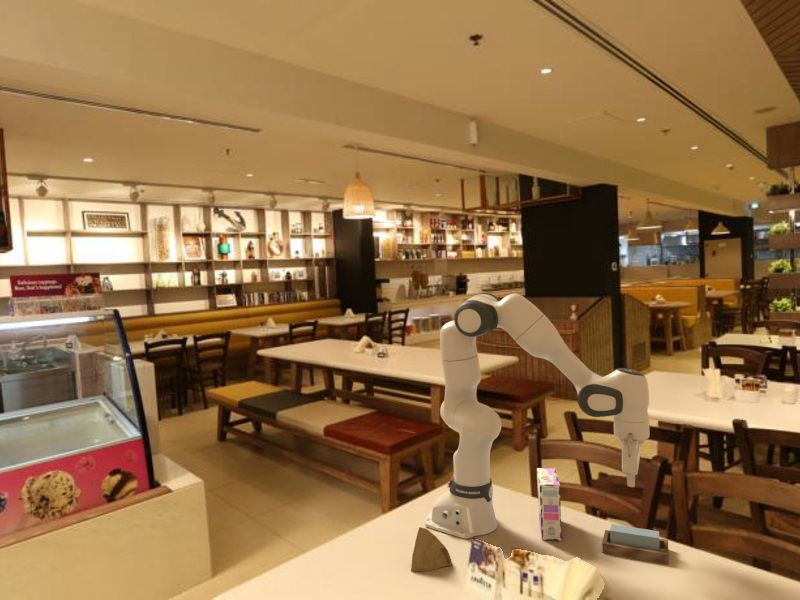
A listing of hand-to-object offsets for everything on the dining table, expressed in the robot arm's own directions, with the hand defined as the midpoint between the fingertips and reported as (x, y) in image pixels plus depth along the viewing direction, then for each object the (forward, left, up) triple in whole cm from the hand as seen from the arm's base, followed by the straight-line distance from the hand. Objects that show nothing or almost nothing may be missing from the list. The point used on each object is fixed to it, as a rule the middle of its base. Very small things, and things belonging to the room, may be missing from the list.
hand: (632, 479), depth 141 cm
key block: (0, 0, -19) cm, 19 cm away
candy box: (-23, +4, -20) cm, 31 cm away
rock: (-48, -27, -20) cm, 59 cm away
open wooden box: (0, 0, -20) cm, 20 cm away
